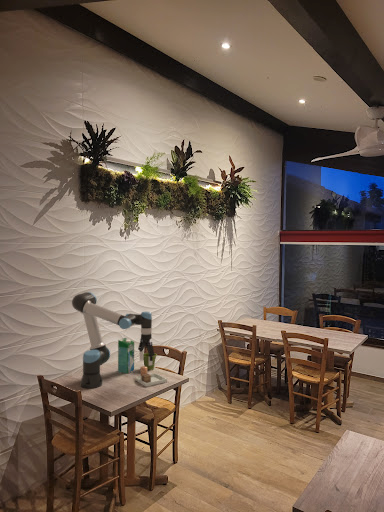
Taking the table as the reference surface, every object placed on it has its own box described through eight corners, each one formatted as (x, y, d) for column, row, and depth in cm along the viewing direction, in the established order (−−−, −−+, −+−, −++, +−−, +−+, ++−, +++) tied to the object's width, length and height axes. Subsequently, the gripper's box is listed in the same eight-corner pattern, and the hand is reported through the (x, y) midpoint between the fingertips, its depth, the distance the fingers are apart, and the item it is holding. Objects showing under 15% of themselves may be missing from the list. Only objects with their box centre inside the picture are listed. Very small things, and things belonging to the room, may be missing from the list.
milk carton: (127, 373, 313) (127, 341, 312) (117, 371, 316) (118, 339, 315) (134, 370, 321) (134, 338, 320) (124, 368, 325) (124, 337, 324)
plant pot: (159, 367, 328) (159, 353, 328) (151, 371, 317) (152, 357, 317) (146, 365, 333) (146, 351, 333) (139, 369, 322) (139, 355, 322)
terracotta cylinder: (142, 378, 303) (142, 368, 302) (139, 376, 307) (139, 367, 306) (148, 376, 306) (148, 367, 306) (145, 375, 310) (145, 365, 310)
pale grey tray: (146, 387, 284) (146, 383, 284) (135, 380, 297) (135, 377, 297) (166, 382, 295) (166, 378, 295) (155, 376, 307) (155, 373, 307)
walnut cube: (150, 382, 293) (150, 375, 292) (144, 383, 290) (144, 376, 289) (147, 380, 297) (147, 373, 296) (141, 381, 294) (141, 374, 293)
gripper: (159, 336, 284) (159, 366, 284) (142, 329, 304) (142, 357, 305) (150, 337, 279) (149, 368, 280) (133, 330, 300) (133, 359, 301)
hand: (145, 362), depth 293 cm, fingers open, 13 cm apart
